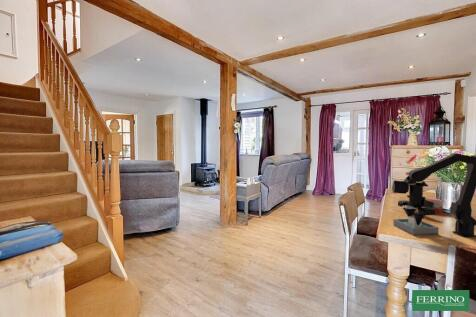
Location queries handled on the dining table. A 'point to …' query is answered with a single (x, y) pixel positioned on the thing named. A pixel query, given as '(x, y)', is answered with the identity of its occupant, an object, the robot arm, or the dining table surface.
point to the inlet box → (420, 230)
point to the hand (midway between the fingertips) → (414, 223)
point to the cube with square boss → (413, 221)
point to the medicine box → (436, 205)
